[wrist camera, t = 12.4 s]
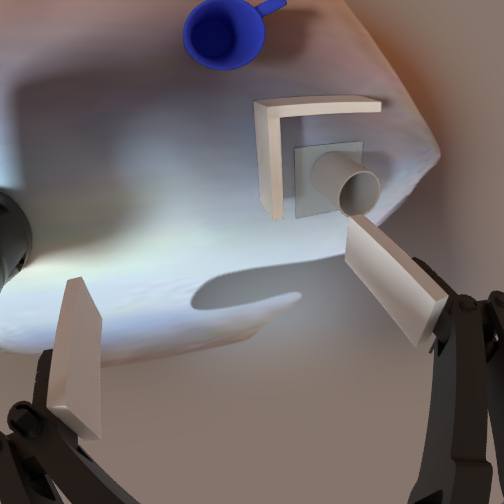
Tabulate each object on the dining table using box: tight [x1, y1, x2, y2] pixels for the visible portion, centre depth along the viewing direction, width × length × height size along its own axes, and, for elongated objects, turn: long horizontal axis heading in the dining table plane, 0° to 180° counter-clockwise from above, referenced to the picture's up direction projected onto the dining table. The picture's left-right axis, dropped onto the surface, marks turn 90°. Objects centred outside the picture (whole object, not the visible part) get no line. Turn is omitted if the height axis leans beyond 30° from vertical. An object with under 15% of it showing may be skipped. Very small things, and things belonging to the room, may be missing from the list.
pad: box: [294, 141, 363, 219], centre depth 50 cm, size 12×12×1 cm
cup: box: [311, 152, 381, 217], centre depth 46 cm, size 7×10×9 cm
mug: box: [183, 0, 287, 70], centre depth 29 cm, size 8×12×10 cm
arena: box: [253, 95, 381, 221], centre depth 44 cm, size 17×16×6 cm
